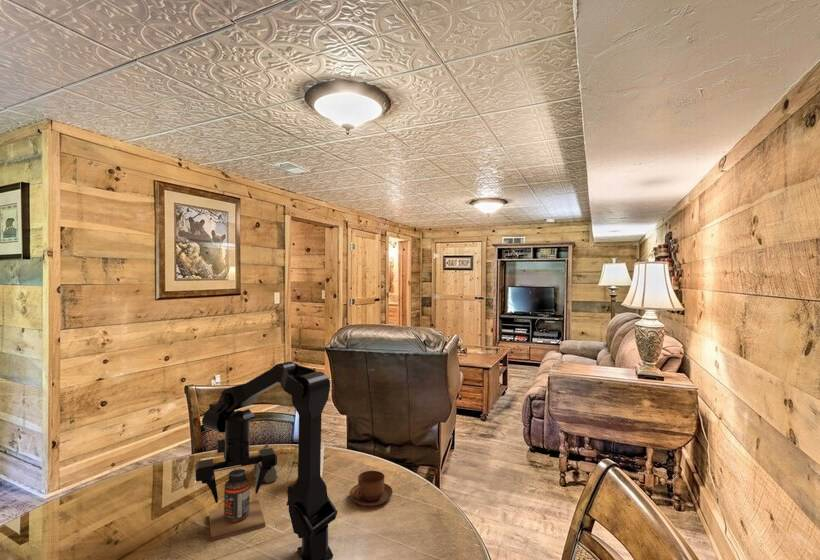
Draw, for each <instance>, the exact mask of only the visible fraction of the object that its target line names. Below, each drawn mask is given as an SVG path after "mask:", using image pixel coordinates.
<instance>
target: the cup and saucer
mask: <svg viewBox="0 0 820 560" xmlns="http://www.w3.org/2000/svg"><path fill="white" fill-rule="evenodd" d="M357 479H358V480H357V484H356V485H354V486H353V487H352V488H351V489H350V491H349V498H350V499H351V500H352V501H353V502H355V503H356V504H357V505H360V506H364V507H371V506H372V507H373V506H378V505H382V504H384V503H386V502H387V501H388V500H390V499H391V497H392V496H393V488H392V487H391V486H390V485H389V484H387V483H385V474H384V473H383V472H382V471H378V470H367V471H363V472H362V473H360V474H358V477H357Z"/></svg>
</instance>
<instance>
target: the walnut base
mask: <svg viewBox="0 0 820 560" xmlns="http://www.w3.org/2000/svg"><path fill="white" fill-rule="evenodd" d="M264 517H265V516H264V514H263V510H262V508H261V504H260V501H259V500H258V499H257V500H252V501H250V505H249V515H248V517H247V518H245V519H244V520H242V521H239V522H234V523H231V522H227V521H226V520H225V519H224V507H222V508H219V509H215V510H211V511H209V513H208V518H209V519H208V520H209V528H210V529H209V530H210V540H211V542H214V541H218V540H221V539H225V538H228V537H231V536H236V535H239V534H242V533H243V534H244V533H248V532H251V531H254V530H255V531H256V530H258V529H263V528H266V521H265V518H264Z"/></svg>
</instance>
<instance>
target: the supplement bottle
mask: <svg viewBox="0 0 820 560" xmlns="http://www.w3.org/2000/svg"><path fill="white" fill-rule="evenodd" d="M223 488H224V490H223V492H224V493H223V494H224V496H223V497H224V499H223V501H224V503H223V508H224V519H225V520H226V521H227V522H231V523H234V522H239V521H242V520H244V519H245V518H247V517H248V515H249V505H250V502H251V501H250V500H251V498H250V494H251V492H250V491H251V482H250V479H249V478H248V477H247V471H246V470H245V468H244V469H243V468H235V469H233V470H231V471H230V472H229V473H228V480H227V481H225V484H224V487H223Z"/></svg>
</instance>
